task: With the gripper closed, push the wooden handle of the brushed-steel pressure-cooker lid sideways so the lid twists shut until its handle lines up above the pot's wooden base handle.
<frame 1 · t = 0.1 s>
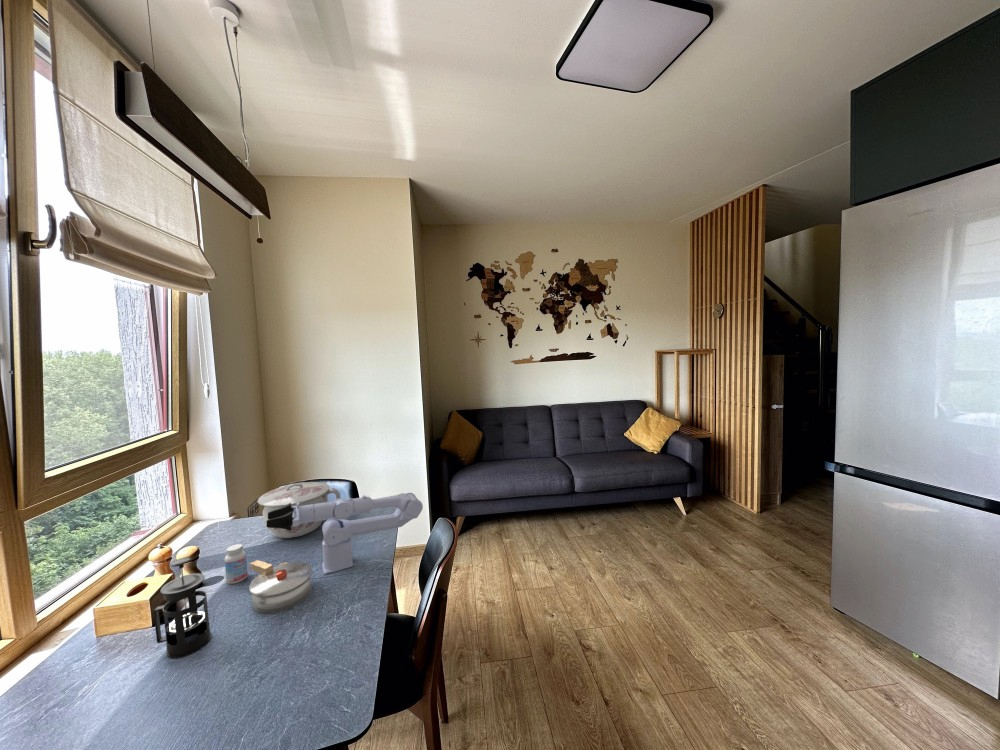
hand: (267, 519, 128), 22 cm above the table, tool horizontal, fingers open, 7 cm apart
pill bottle: (237, 579, 133), on the table
french press: (187, 645, 103), on the table
chamber pot: (298, 531, 168), on the table
cooker pot: (283, 596, 122), on the table
cooker lid: (275, 573, 123), point 7 cm above the table, hinge at 35.0°
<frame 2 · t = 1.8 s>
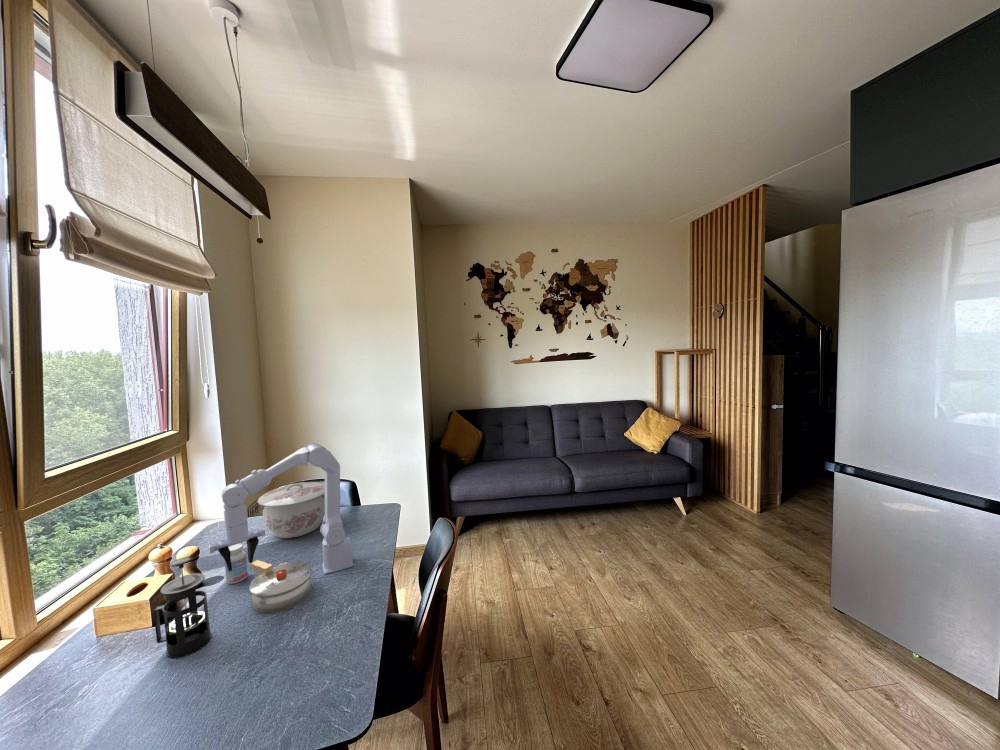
hand: (240, 565, 121), 10 cm above the table, tool pointing down, fingers open, 5 cm apart
nothing on the table moved.
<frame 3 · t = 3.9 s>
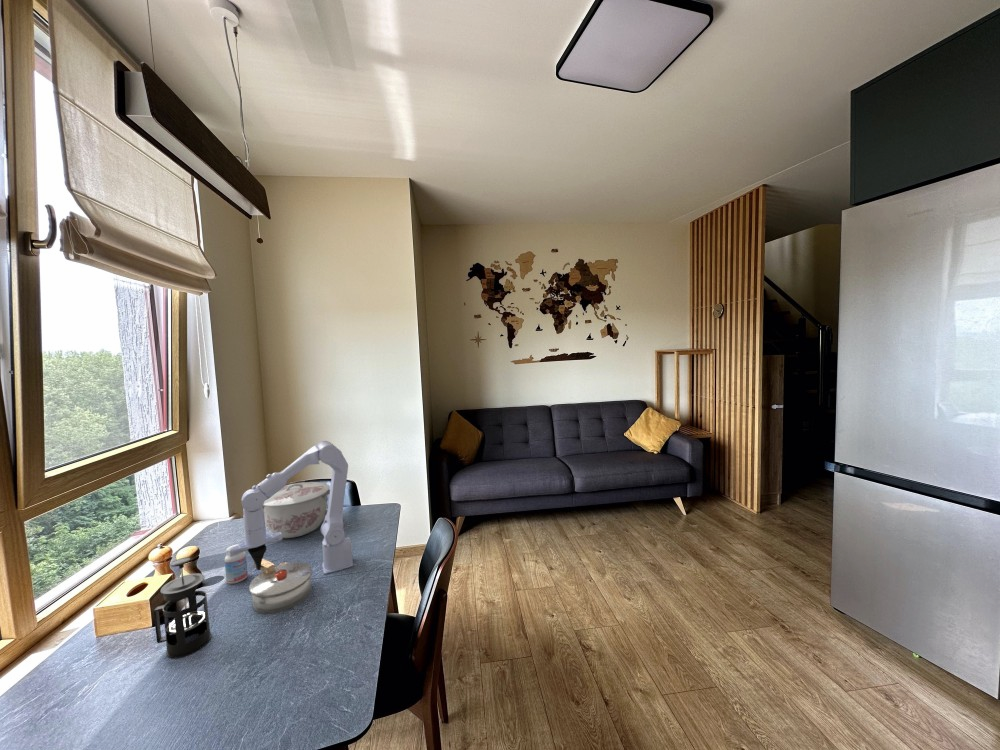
hand: (258, 568, 125), 7 cm above the table, tool pointing down, fingers closed
cooker lid: (276, 573, 123), point 7 cm above the table, hinge at 29.5°, touching gripper
everything else where it was.
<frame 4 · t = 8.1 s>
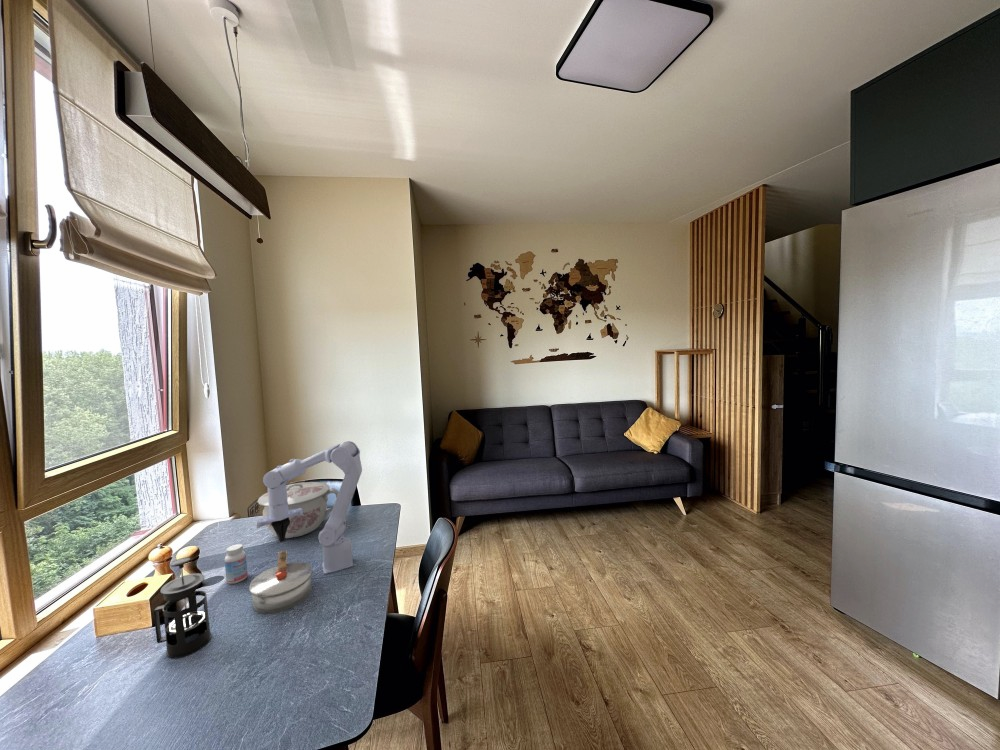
hand: (281, 540, 137), 10 cm above the table, tool pointing down, fingers closed
cooker lid: (281, 571, 124), point 7 cm above the table, hinge at -1.0°
everything else where it was.
at the end: cooker lid at -1° (first picture: +35°) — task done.
